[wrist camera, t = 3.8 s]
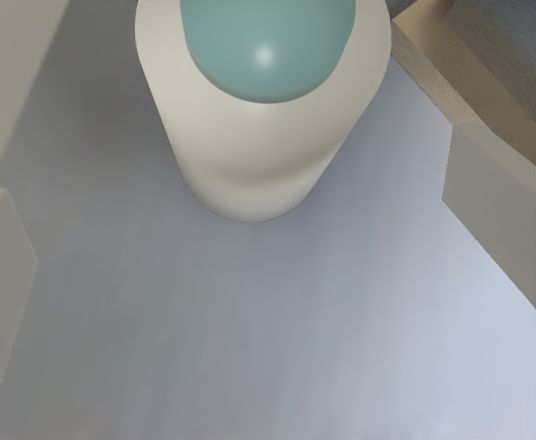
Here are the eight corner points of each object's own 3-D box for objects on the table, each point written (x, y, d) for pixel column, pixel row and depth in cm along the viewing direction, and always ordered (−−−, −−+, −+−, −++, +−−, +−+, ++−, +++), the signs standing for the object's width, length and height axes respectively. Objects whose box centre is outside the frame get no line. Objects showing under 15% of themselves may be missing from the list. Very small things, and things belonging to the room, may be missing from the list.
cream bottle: (350, 163, 25) (462, 27, 13) (239, 252, 24) (247, 193, 12) (261, 58, 25) (287, -166, 13) (148, 139, 24) (67, -27, 12)
